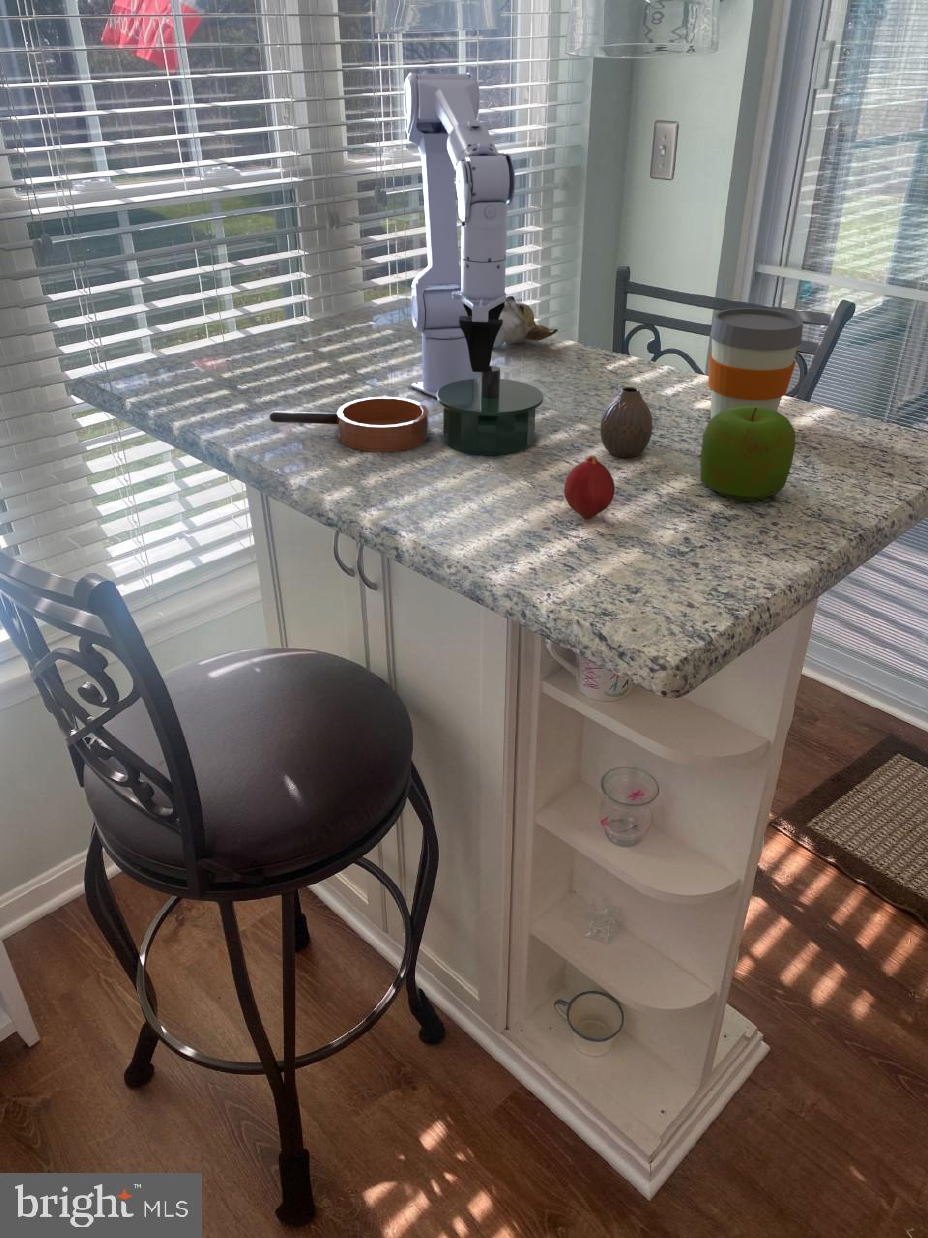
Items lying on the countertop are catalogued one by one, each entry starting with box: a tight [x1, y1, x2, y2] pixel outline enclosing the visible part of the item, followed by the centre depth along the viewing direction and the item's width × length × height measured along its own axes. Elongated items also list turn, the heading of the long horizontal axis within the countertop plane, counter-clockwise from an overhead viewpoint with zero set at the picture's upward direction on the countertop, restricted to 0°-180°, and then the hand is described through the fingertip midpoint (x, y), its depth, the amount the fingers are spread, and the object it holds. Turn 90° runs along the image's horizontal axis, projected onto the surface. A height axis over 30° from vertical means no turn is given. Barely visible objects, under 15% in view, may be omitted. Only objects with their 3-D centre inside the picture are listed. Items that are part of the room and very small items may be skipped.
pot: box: [442, 405, 537, 456], centre depth 137 cm, size 13×18×6 cm
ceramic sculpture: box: [493, 295, 559, 349], centre depth 178 cm, size 11×9×15 cm
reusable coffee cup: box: [708, 307, 804, 420], centre depth 142 cm, size 12×13×15 cm
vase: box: [600, 386, 654, 458], centre depth 132 cm, size 7×7×9 cm
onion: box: [563, 454, 616, 520], centre depth 114 cm, size 6×6×8 cm
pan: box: [336, 396, 430, 453], centre depth 138 cm, size 13×13×4 cm
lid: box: [436, 365, 544, 416], centre depth 134 cm, size 15×15×5 cm
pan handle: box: [269, 410, 337, 425], centre depth 138 cm, size 10×2×2 cm, turn 86°
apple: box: [700, 406, 796, 502], centre depth 121 cm, size 11×11×11 cm
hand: (481, 362), depth 133 cm, fingers open, 7 cm apart
